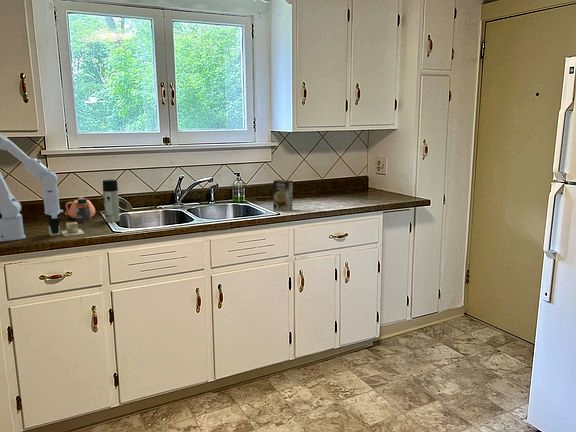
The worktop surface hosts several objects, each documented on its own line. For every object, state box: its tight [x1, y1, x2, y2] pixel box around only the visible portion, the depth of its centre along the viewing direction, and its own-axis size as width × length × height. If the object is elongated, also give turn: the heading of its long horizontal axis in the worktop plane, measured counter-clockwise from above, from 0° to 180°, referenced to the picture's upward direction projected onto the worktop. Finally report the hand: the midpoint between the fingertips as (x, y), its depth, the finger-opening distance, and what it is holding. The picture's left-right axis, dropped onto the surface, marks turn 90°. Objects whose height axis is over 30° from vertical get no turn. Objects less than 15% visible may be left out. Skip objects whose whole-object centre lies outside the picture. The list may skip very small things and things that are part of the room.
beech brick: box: [65, 221, 79, 234], centre depth 207 cm, size 4×4×4 cm
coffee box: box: [272, 179, 294, 212], centre depth 258 cm, size 9×6×16 cm
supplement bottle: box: [76, 197, 92, 224], centre depth 230 cm, size 6×6×11 cm
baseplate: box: [60, 228, 85, 237], centre depth 208 cm, size 8×10×1 cm
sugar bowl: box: [64, 197, 96, 220], centre depth 239 cm, size 12×14×10 cm
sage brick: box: [48, 225, 61, 237], centre depth 204 cm, size 4×4×4 cm
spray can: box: [102, 179, 121, 223], centre depth 230 cm, size 7×7×20 cm
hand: (54, 232), depth 204 cm, fingers open, 4 cm apart
